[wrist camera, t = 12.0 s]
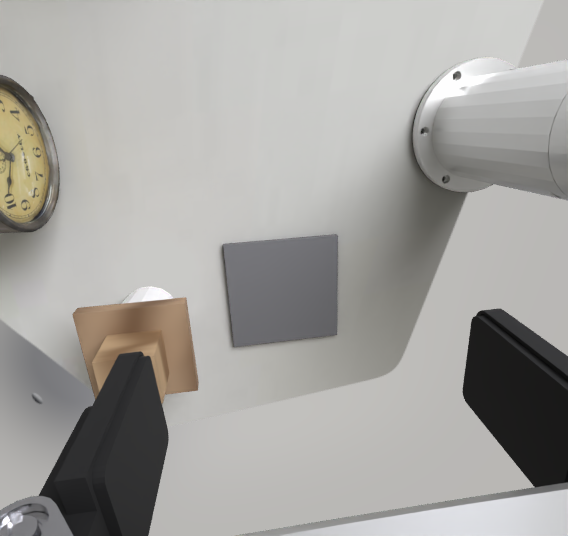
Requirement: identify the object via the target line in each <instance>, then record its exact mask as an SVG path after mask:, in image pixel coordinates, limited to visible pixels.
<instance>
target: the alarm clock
mask: <svg viewBox="0 0 568 536" xmlns="http://www.w3.org/2000/svg"><path fill="white" fill-rule="evenodd" d="M58 194H59V163H58V157H57V152H56V148H55V144H54V140H53V137H52V134H51V131H50V129H49V127H48V124H47V122H46V119H45V117H44V116H43V114H42V112H41V110H40V109H39V107H38V105H37V104H36V102H35V101H34V98H33V97H32V96H31V95H30V94H29V93H28V92H27V91H26V90H25V89H24V88H23V87H22V86H20V85H19V84H18V83H17V82H15V81H14V80H12V79H11V78H9V77H6V76H3V75H0V233H11V232H33V231H36V230H38V229H40V228H41V227H43V226H44V225H45V224H46V223H47V221H48V220H49V219H50V217H51V216H52V214H53V212H54V209H55V206H56V203H57V199H58Z"/></svg>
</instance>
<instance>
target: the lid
mask: <svg viewBox="0 0 568 536" xmlns="http://www.w3.org/2000/svg"><path fill="white" fill-rule="evenodd" d="M73 318H74V322H75V326H76V330H77V333H78V337H79V341H80V344H81V348H82V352H83V356H84V359H85V363H86V367H87V370H88V374H89V378H90V382H91V385H92V389H93V393H94V396H95V400H96V398H97V396H98V394H99V392H100V390H101V388H102V386H103V384H104V382H105V380H106V378H107V376H108V374H109V372H110V371H111V369H112V367H113V365H114V363H115V361H116V359H117V357H118V355H119V354H122V353H131V352H139V351H141V352H142V353H143V354H144V356H150V358H151V361H152V365H153V369H154V373H155V378H156V382H157V386H158V390H159V395H160V399H161V403H163V400H164V396H165V394H173V393H181V392H189V391H197V390H198V383H199V382H198V375H197V368H196V362H195V355H194V348H193V341H192V334H191V327H190V321H189V314H188V307H187V300H186V298H175V299H165V300H155V301H145V302H134V303H124V304H114V305H103V306H93V307H83V308H77V309H76V311H75V312H74V313H73Z"/></svg>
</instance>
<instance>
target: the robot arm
mask: <svg viewBox="0 0 568 536" xmlns="http://www.w3.org/2000/svg"><path fill="white" fill-rule="evenodd" d="M453 76H454V78H453ZM421 129H422V133H421ZM413 148H414V152H415V156H416V159H417V162H418V164H419V166H420V168H421V170H422V171H423V172H424V174H425V175H426V176H427V177H428V178H429V179H430V180H431V181H432V182H434V183H435V184H436V185H438V186H440V187H442V188H445V189H448V190H451V191H456V192H474V191H478V190H481V189H485V188H487V187H489V186H491V185H493V184H496V185H501V186H505V187H509V188H514V189H518V190H523V191H528V192H532V193H537V194H541V195H546V196H551V197H555V198H559V199H564V200H568V59H566V60H561V61H556V62H550V63H545V64H540V65H535V66H530V67H524V68H519V69H518V68H517V67H515V66H514V65H512V64H511V63H509V62H507V61H505V60H502V59H499V58H492V57H482V58H475V59H471V60H468V61H464V62H462V63H459V64H457V65H455V66H453V67H451V68H450V69H449V70H447V71H446V72H445V73H443V74H442V75H441V76H440V77H439V78H438V79H437V80H436V81H435V82H434V83H433V84H432V85H431V86H430V88H429V89H428V91H427V92H426V94H425V95H424V97H423V99H422V101H421V103H420V105H419V108H418V110H417V114H416V117H415V121H414V128H413ZM442 178H443V180H442ZM463 396H464V399H465V401H466V403H467V404H468V405H469V406H470V408H471V409H472V410H473V411H474V413H475V414H476V415H477V416H478V418H479V419H480V420H481V421H482V422H483V424H484V425H485V426H486V427H487V429H488V430H489V431H490V432H491V434H492V435H493V436H494V437H495V439H496V440H497V441H498V442H499V444H500V445H501V446H502V447H503V448H504V450H505V451H506V452H507V453H508V455H509V456H510V457H511V458H512V460H513V461H514V462H515V463H516V465H517V466H518V467H519V468H520V469H521V471H522V472H523V473H524V474H525V476H526V477H527V478H528V479H529V480H530V482H531V483H532V484H533V486H535V488H529V489H522V490H516V491H509V492H502V493H496V494H489V495H483V496H476V497H470V498H463V499H457V500H451V501H445V502H438V503H432V504H425V505H419V506H413V507H407V508H401V509H395V510H388V511H383V512H376V513H370V514H364V515H357V516H351V517H345V518H338V519H333V520H326V521H320V522H315V523H308V524H303V525H296V526H290V527H284V528H278V529H272V530H266V531H260V532H255V533H248V534H242V535H236V536H568V356H566V355H565V354H564V353H562V352H561V351H559V350H558V349H557V348H555V347H554V346H553V345H551V344H550V343H548V342H547V341H545V340H544V339H543V338H541V337H540V336H539V335H537V334H536V333H534V332H533V331H532V330H530V329H529V328H527V327H526V326H525V325H523V324H522V323H520V322H519V321H518V320H516V319H515V318H513V317H512V316H511V315H509V314H508V313H506V312H505V311H504V310H502V309H492V310H484V311H480V312H478V313H477V315H476V316H475V317H473V319H472V322H471V330H470V337H469V345H468V353H467V360H466V369H465V376H464V384H463ZM167 446H168V429H167V425H166V420H165V416H164V412H163V407H162V403H161V399H160V395H159V390H158V386H157V382H156V378H155V373H154V369H153V365H152V361H151V358H150V356H144V354H143V353H142V352H141V351H139V352H131V353H122V354H119V355H118V357H117V359H116V361H115V363H114V365H113V367H112V369H111V371H110V372H109V374H108V376H107V378H106V380H105V382H104V384H103V386H102V388H101V390H100V392H99V394H98V396H97V398H96V400H95V402H94V404H93V406H91V407H88V408H86V409H85V410H84V412H83V413H82V415H81V417H80V419H79V421H78V422H77V424H76V427H75V428H74V430H73V432H72V434H71V436H70V438H69V440H68V442H67V443H66V445H65V447H64V449H63V451H62V453H61V455H60V457H59V459H58V460H57V462H56V464H55V466H54V468H53V470H52V472H51V473H50V475H49V477H48V479H47V481H46V483H45V485H44V487H43V489H42V490H41V492H40V494H39V496H34V497H28V498H25V499H22V500H19V501H16V502H14V503H13V504H10V505H9V506H7V507H5V508H3V509H2V510H0V536H148V534H149V530H150V525H151V520H152V515H153V511H154V506H155V502H156V497H157V492H158V488H159V483H160V479H161V474H162V469H163V464H164V460H165V455H166V450H167Z"/></svg>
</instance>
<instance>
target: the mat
mask: <svg viewBox="0 0 568 536" xmlns="http://www.w3.org/2000/svg"><path fill="white" fill-rule="evenodd" d="M223 248H224V258H225V267H226V277H227V286H228V295H229V305H230V314H231V323H232V333H233V342H234V347H238V346H247V345H255V344H264V343H272V342H281V341H289V340H297V339H306V338H314V337H323V336H331V335H337V276H338V236H337V235H336V234H335V235H324V236H312V237H300V238H289V239H277V240H265V241H253V242H242V243H230V244H223Z"/></svg>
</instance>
